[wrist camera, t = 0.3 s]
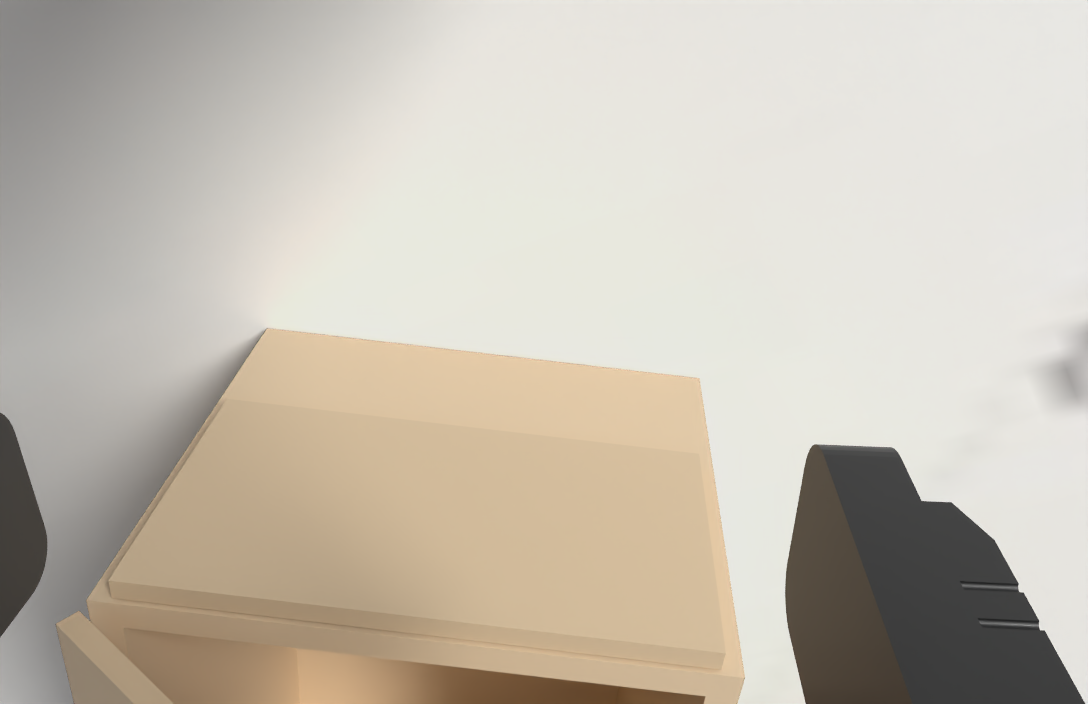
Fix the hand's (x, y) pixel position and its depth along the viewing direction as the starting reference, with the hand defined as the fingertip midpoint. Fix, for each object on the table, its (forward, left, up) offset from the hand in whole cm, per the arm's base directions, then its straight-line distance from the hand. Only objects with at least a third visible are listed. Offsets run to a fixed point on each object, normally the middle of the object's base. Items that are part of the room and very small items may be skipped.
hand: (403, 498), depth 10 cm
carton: (+18, -1, -19) cm, 26 cm away
